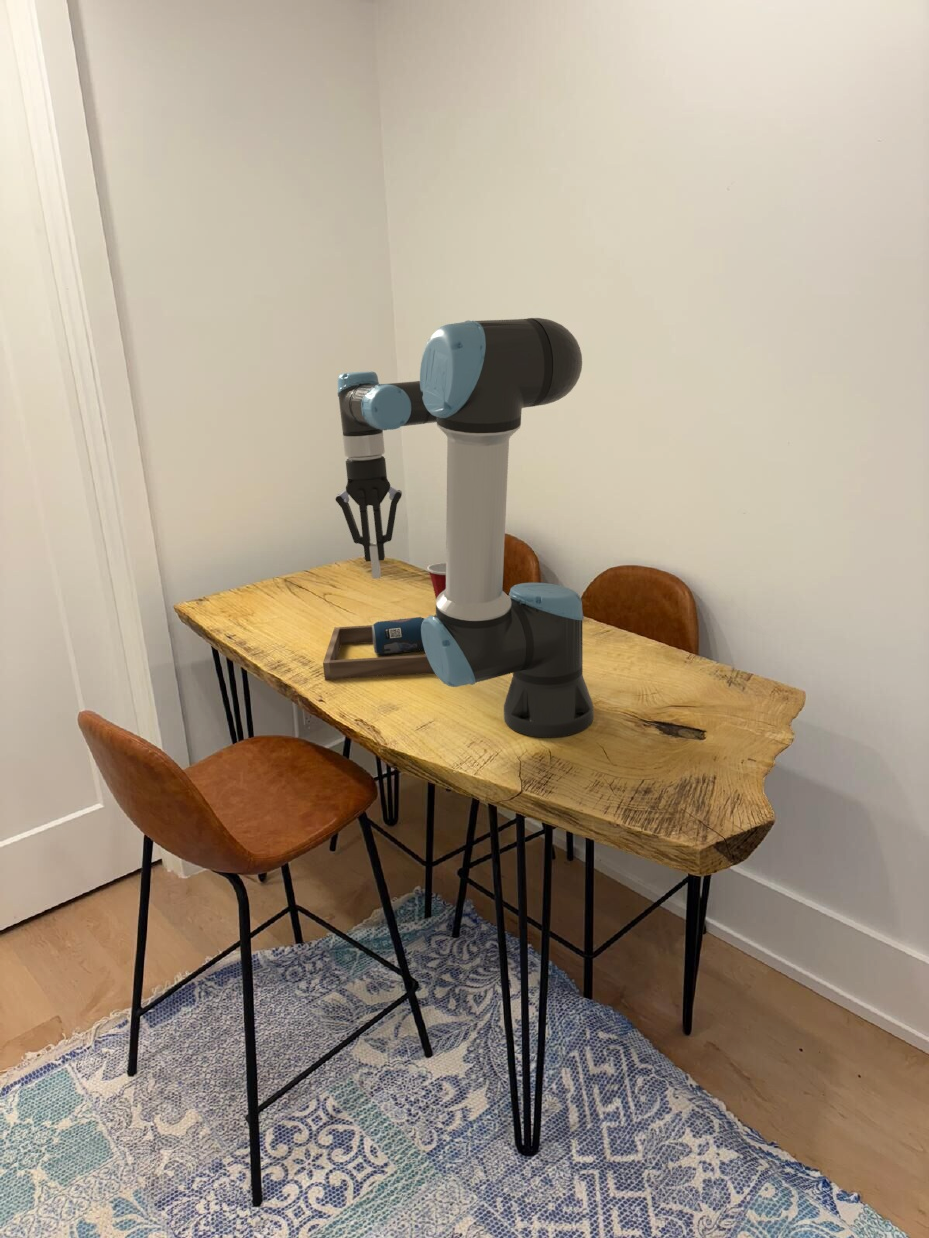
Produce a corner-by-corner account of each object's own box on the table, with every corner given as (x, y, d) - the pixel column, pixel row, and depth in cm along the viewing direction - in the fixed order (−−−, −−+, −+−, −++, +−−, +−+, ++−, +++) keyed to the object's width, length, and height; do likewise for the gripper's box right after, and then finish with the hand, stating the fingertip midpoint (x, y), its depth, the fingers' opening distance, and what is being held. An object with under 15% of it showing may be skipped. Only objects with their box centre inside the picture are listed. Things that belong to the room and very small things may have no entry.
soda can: (370, 627, 177) (427, 620, 179) (374, 658, 175) (431, 652, 177) (371, 618, 170) (429, 612, 172) (375, 651, 168) (434, 644, 170)
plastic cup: (486, 614, 194) (484, 564, 190) (451, 627, 187) (448, 575, 183) (455, 605, 201) (452, 556, 197) (420, 616, 194) (417, 567, 190)
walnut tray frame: (451, 672, 163) (450, 655, 162) (324, 679, 163) (322, 663, 161) (449, 635, 182) (448, 620, 181) (336, 642, 181) (334, 627, 180)
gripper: (400, 452, 162) (410, 569, 170) (333, 456, 162) (345, 573, 169) (398, 457, 155) (409, 579, 162) (328, 461, 155) (341, 584, 162)
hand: (376, 576), depth 166 cm, fingers closed
